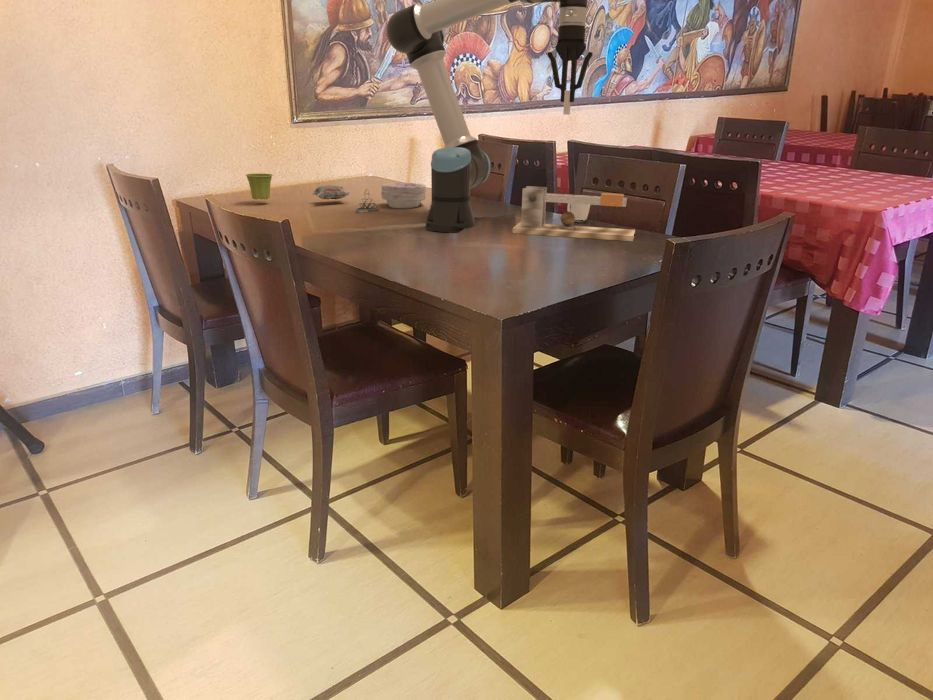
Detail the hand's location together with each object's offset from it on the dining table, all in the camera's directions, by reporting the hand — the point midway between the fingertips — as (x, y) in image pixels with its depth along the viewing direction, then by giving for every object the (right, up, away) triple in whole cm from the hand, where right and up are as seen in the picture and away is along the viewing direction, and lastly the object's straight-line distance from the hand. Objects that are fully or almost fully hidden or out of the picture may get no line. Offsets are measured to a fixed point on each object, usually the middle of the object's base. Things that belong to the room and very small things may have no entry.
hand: (566, 114), depth 201 cm
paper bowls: (-51, -19, +40) cm, 68 cm away
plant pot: (-105, -13, +54) cm, 119 cm away
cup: (+6, -28, +19) cm, 34 cm away
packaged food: (-81, -16, +50) cm, 97 cm away
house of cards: (-62, -22, +33) cm, 74 cm away
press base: (+2, -35, -2) cm, 35 cm away
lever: (+2, -27, -4) cm, 28 cm away
